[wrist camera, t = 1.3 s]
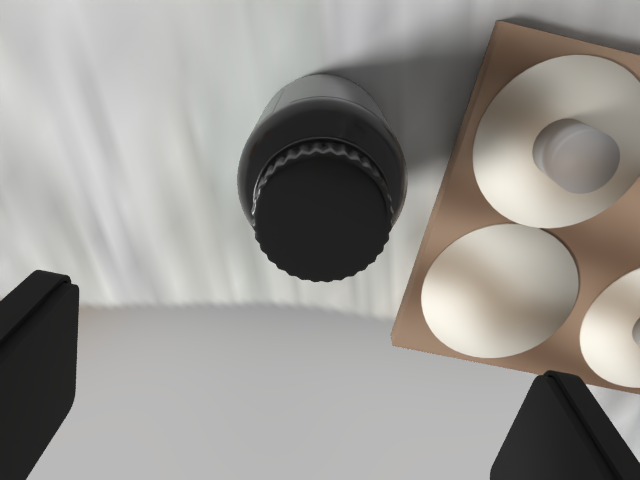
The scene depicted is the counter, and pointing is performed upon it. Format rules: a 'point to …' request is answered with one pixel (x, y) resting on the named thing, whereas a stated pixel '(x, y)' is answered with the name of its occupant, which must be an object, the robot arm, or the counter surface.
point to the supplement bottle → (322, 179)
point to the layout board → (538, 217)
